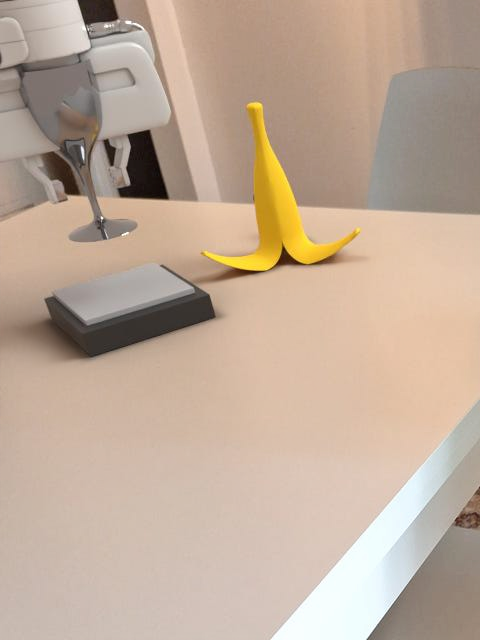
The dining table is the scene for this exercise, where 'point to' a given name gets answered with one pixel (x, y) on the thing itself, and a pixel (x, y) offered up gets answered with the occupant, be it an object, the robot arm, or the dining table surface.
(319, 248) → the banana peel
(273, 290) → the dining table surface
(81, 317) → the scale
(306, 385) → the dining table surface
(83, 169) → the wine glass
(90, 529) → the dining table surface
